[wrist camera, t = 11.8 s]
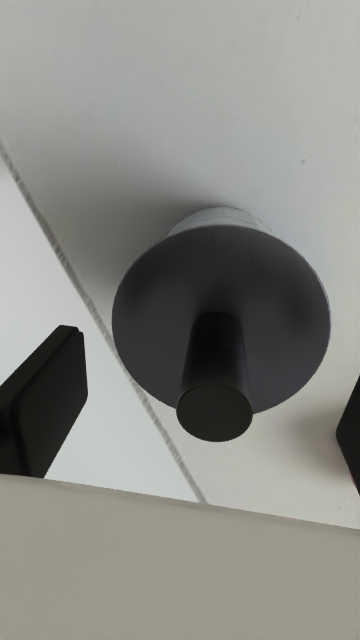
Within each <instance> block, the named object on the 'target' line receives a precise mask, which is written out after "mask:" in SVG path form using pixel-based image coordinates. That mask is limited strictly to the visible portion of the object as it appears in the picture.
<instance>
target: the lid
mask: <svg viewBox="0 0 360 640" xmlns="http://www.w3.org/2000/svg"><path fill="white" fill-rule="evenodd" d="M112 331H113V337H114V342H115V346H116V349H117V351H118V354H119V356H120V359H121V360H122V362H123V364H124V366H125V368H126V369H127V371H128V372H129V373H130V375H131V376H132V377H133V379H134V380H135V381H136V382H137V383H138V384H139V385H140V386H141V387H142V388H143V389H144V390H145V391H147V392H148V393H149V394H150V395H152V396H153V397H155V398H156V399H158V400H159V401H161V402H163V403H164V404H166V405H168V406H170V407H173V408H175V409H176V414H177V418H178V421H179V423H180V424H181V426H182V427H183V428H184V429H185V430H186V431H187V432H188V433H189V434H191V435H192V436H194V437H196V438H198V439H201V440H204V441H209V442H224V441H229V440H232V439H235V438H237V437H239V436H240V435H242V434H243V433H244V432H245V431H246V430H247V429H248V428H249V426H250V424H251V422H252V418H253V414H256V413H259V412H262V411H265V410H268V409H270V408H272V407H274V406H277V405H279V404H280V403H282V402H284V401H285V400H287V399H289V398H290V397H291V396H293V395H294V394H295V393H297V392H298V391H299V390H300V389H301V388H302V387H303V386H304V385H305V384H306V383H307V382H308V381H309V380H310V379H311V377H312V376H313V375H314V374H315V372H316V371H317V369H318V367H319V366H320V364H321V362H322V360H323V358H324V355H325V353H326V351H327V347H328V343H329V339H330V333H331V310H330V306H329V301H328V297H327V294H326V292H325V289H324V287H323V284H322V283H321V281H320V279H319V277H318V276H317V274H316V272H315V271H314V270H313V268H312V267H311V266H310V265H309V264H308V262H307V261H306V260H305V259H304V258H303V257H302V256H301V255H300V254H299V253H298V252H297V251H296V250H295V249H294V248H292V247H291V246H290V245H288V244H287V243H285V242H284V241H282V240H281V239H279V238H277V237H275V236H273V235H271V234H269V233H266V232H264V231H261V230H258V229H255V228H252V227H248V226H242V225H236V224H220V223H216V224H206V225H199V226H194V227H190V228H186V229H183V230H180V231H178V232H175V233H173V234H170V235H168V236H167V237H165V238H163V239H161V240H159V241H158V242H156V243H155V244H154V245H152V246H151V247H150V248H148V249H147V250H146V251H145V252H144V253H143V254H142V255H141V256H140V257H139V258H138V259H137V260H136V261H135V262H134V263H133V264H132V266H131V267H130V268H129V270H128V271H127V272H126V274H125V276H124V278H123V279H122V281H121V283H120V285H119V287H118V290H117V293H116V296H115V299H114V304H113V309H112Z"/></svg>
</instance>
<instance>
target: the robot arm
mask: <svg viewBox="0 0 360 640" xmlns="http://www.w3.org/2000/svg"><path fill="white" fill-rule="evenodd" d="M87 396H88V388H87V375H86V361H85V348H84V335H83V332H79V330H78V328H77V327H73V326H65V325H60V326H58V327H57V328H56V329H55V330H54V331H53V332H52V333H51V334H50V336H48V338H47V339H45V341H44V342H43V343H42V344H41V345H40V346H39V347H38V348H37V349H36V350H35V351H34V352H33V353H32V354H31V355H30V356H29V357H28V358H27V359H26V360H25V361H24V362H23V363H22V364H21V365H20V366H19V367H18V368H17V369H16V370H15V371H14V372H13V373H12V375H11V376H10V377H9V378H8V379H7V380H6V381H5V382H4V383H3V384H2V385H1V386H0V640H360V530H358V529H352V528H346V527H340V526H334V525H328V524H322V523H316V522H311V521H305V520H299V519H293V518H287V517H281V516H275V515H269V514H263V513H257V512H251V511H245V510H239V509H233V508H227V507H221V506H215V505H208V504H202V503H196V502H190V501H184V500H177V499H172V498H165V497H159V496H153V495H147V494H140V493H133V492H127V491H121V490H114V489H109V488H103V487H96V486H90V485H84V484H76V483H70V482H63V481H56V480H48V479H43V478H44V477H45V475H46V473H47V471H48V469H49V467H50V466H51V464H52V462H53V460H54V459H55V457H56V455H57V453H58V451H59V450H60V448H61V446H62V444H63V442H64V441H65V439H66V437H67V435H68V433H69V431H70V430H71V428H72V426H73V424H74V423H75V421H76V419H77V417H78V415H79V414H80V412H81V410H82V408H83V406H84V405H85V403H86V400H87ZM336 438H337V441H338V443H339V446H340V448H341V451H342V453H343V456H344V458H345V461H346V463H347V466H348V468H349V471H350V473H351V475H352V478H353V480H354V483H355V485H356V488H357V490H358V493H359V495H360V376H359V378H358V380H357V383H356V385H355V387H354V390H353V392H352V394H351V396H350V399H349V401H348V403H347V406H346V408H345V410H344V413H343V415H342V417H341V420H340V422H339V424H338V427H337V430H336Z"/></svg>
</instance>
